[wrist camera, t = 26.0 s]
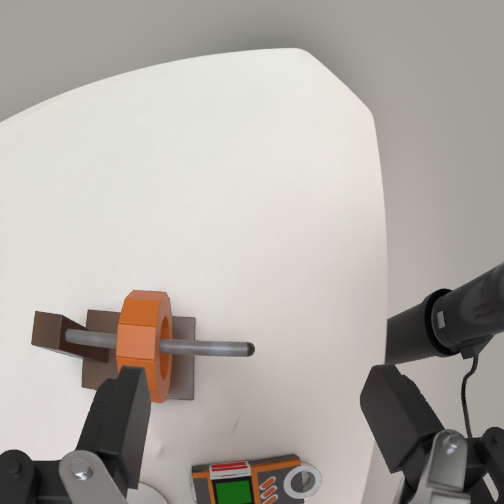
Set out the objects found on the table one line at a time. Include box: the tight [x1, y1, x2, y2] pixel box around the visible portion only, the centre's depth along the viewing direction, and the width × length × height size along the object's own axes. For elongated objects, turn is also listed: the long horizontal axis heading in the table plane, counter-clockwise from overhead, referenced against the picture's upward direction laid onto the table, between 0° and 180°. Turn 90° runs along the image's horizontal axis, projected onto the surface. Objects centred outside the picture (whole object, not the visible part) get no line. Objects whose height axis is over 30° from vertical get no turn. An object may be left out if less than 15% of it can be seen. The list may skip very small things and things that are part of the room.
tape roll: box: [116, 290, 173, 403], centre depth 25 cm, size 3×10×10 cm, turn 0°
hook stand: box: [31, 309, 255, 400], centre depth 28 cm, size 20×10×14 cm, turn 90°
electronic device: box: [191, 454, 322, 504], centre depth 28 cm, size 7×3×15 cm
